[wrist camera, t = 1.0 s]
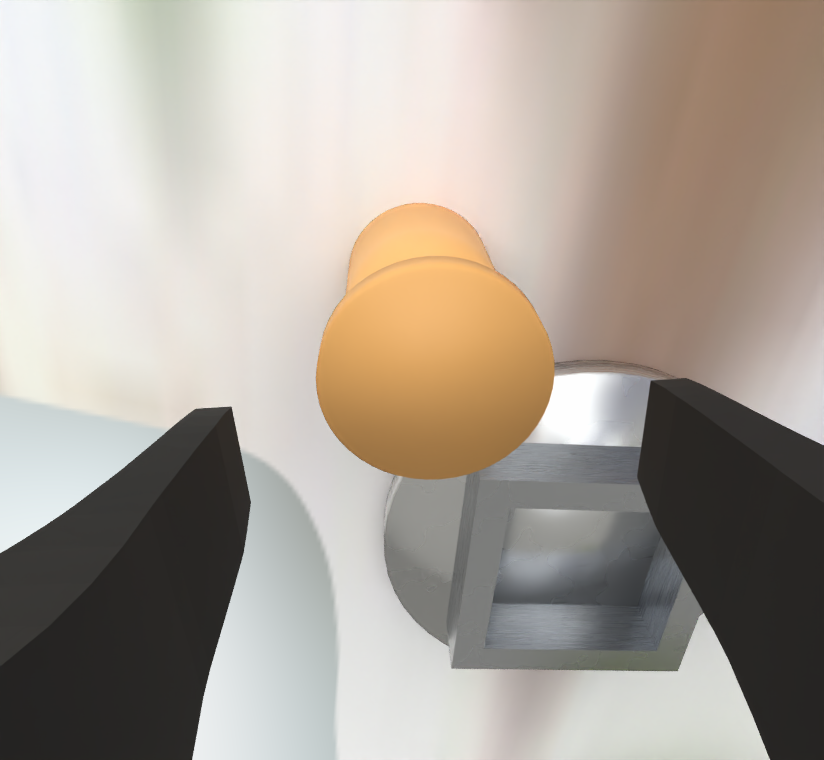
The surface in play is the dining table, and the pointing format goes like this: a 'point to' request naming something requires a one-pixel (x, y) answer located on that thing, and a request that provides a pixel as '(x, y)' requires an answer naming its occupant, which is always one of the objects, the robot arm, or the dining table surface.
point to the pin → (431, 351)
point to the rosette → (548, 543)
